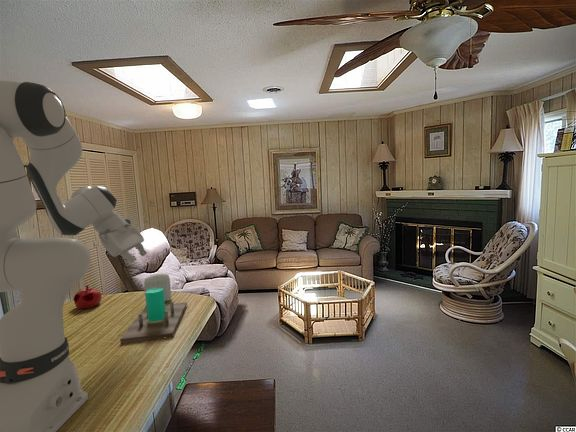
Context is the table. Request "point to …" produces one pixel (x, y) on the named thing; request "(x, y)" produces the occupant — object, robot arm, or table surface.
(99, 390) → the table surface
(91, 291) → the pomegranate
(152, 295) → the candle
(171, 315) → the candle stand
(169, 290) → the photo printer
